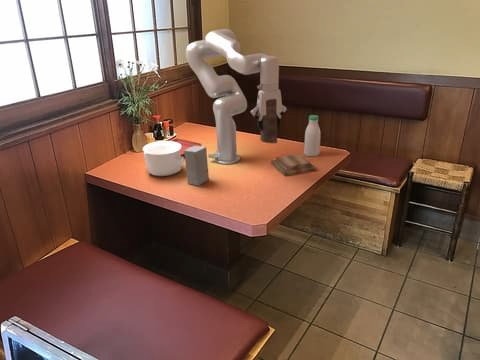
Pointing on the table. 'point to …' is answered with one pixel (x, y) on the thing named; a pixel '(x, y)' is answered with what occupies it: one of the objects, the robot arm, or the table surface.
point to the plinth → (292, 165)
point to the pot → (163, 157)
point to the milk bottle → (312, 137)
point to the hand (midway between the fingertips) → (268, 127)
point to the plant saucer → (185, 145)
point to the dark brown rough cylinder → (269, 123)
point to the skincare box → (196, 165)
